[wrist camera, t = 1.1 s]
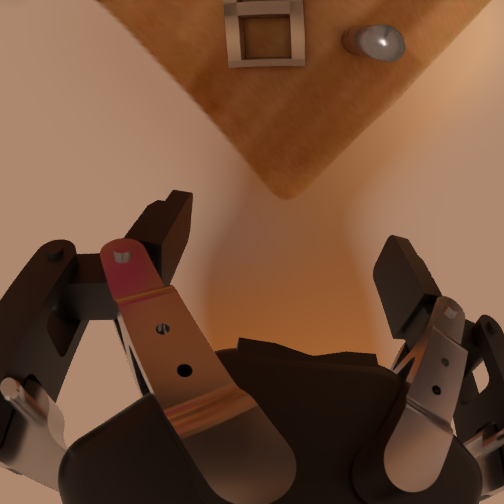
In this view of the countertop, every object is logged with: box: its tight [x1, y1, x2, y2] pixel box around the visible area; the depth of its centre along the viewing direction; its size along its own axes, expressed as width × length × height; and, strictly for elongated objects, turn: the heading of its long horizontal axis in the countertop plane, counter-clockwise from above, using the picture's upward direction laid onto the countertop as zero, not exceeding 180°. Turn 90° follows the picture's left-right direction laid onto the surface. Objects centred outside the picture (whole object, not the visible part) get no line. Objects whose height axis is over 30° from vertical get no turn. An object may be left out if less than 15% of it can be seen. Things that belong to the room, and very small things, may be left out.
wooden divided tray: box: [223, 0, 305, 68], centre depth 20 cm, size 12×7×6 cm, turn 3°
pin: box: [342, 25, 405, 62], centre depth 19 cm, size 3×3×10 cm
